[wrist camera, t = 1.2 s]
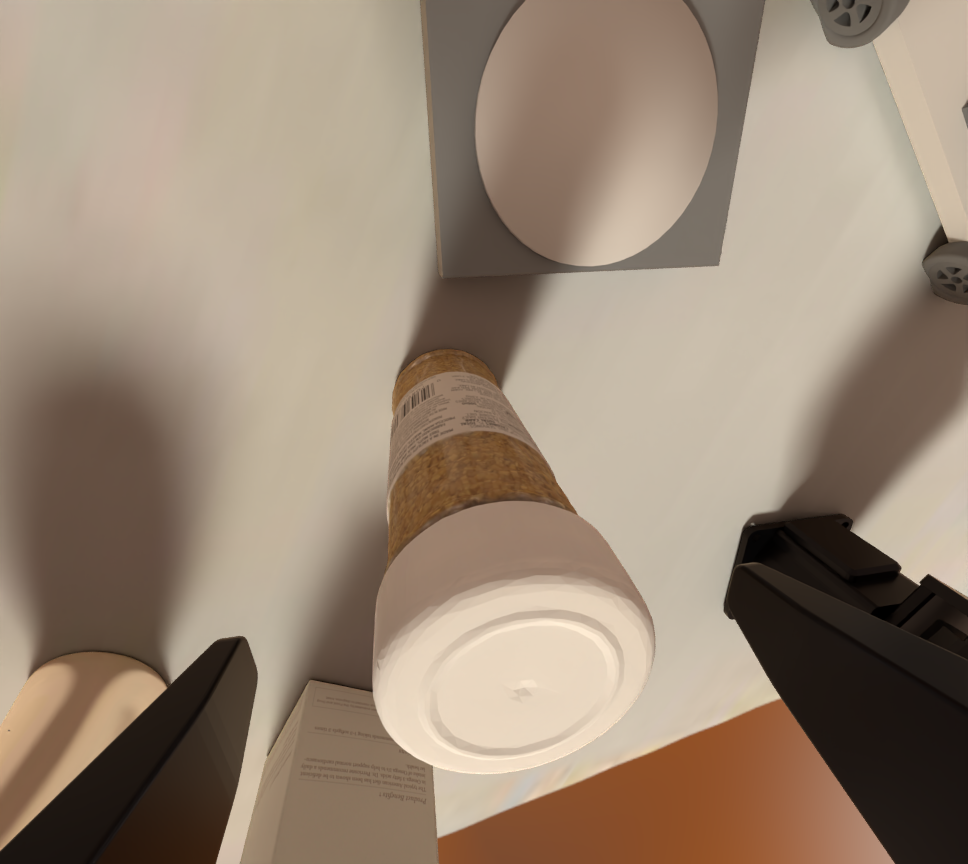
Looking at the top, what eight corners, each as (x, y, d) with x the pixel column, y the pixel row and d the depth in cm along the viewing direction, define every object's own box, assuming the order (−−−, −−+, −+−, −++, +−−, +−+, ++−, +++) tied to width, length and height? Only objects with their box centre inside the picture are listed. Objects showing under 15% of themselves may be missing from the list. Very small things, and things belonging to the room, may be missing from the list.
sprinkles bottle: (435, 465, 20) (486, 820, 8) (367, 389, 18) (296, 702, 6) (519, 406, 20) (709, 688, 7) (458, 321, 18) (580, 513, 6)
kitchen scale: (684, 262, 18) (725, 266, 16) (438, 272, 17) (443, 279, 14) (747, -170, 13) (820, -257, 11) (406, -204, 12) (407, -312, 10)
